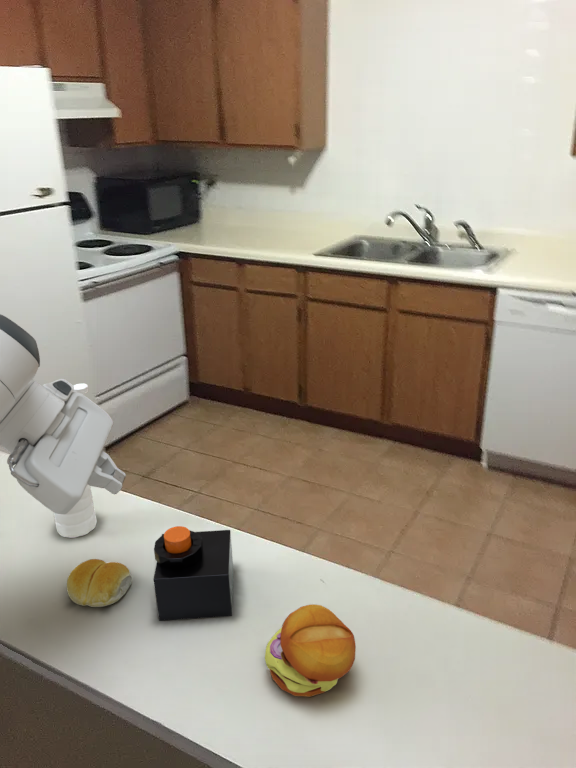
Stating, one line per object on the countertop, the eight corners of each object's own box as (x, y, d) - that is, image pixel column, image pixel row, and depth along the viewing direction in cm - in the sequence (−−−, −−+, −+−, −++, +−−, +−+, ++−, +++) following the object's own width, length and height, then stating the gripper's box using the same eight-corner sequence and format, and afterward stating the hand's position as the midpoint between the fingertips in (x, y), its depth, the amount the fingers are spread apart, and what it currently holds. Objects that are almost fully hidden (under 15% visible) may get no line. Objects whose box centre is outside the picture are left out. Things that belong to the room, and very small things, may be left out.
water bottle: (58, 542, 108) (29, 403, 98) (55, 521, 114) (27, 387, 104) (113, 529, 111) (90, 392, 101) (107, 508, 117) (85, 377, 107)
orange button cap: (163, 555, 91) (162, 542, 90) (166, 538, 94) (165, 526, 93) (190, 553, 91) (188, 541, 90) (192, 537, 94) (191, 525, 94)
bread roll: (87, 567, 103) (83, 545, 101) (139, 577, 100) (136, 555, 98) (55, 603, 95) (50, 581, 94) (110, 615, 93) (106, 592, 91)
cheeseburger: (297, 624, 90) (310, 573, 85) (361, 676, 85) (380, 625, 80) (246, 671, 83) (258, 618, 78) (313, 730, 78) (330, 679, 73)
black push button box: (157, 621, 92) (149, 568, 88) (165, 573, 101) (158, 523, 97) (232, 616, 92) (227, 563, 88) (233, 568, 101) (229, 519, 97)
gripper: (17, 448, 73) (120, 517, 77) (68, 373, 91) (148, 432, 96) (-15, 484, 75) (87, 550, 79) (41, 403, 93) (121, 460, 97)
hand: (121, 485), depth 87 cm, fingers closed
